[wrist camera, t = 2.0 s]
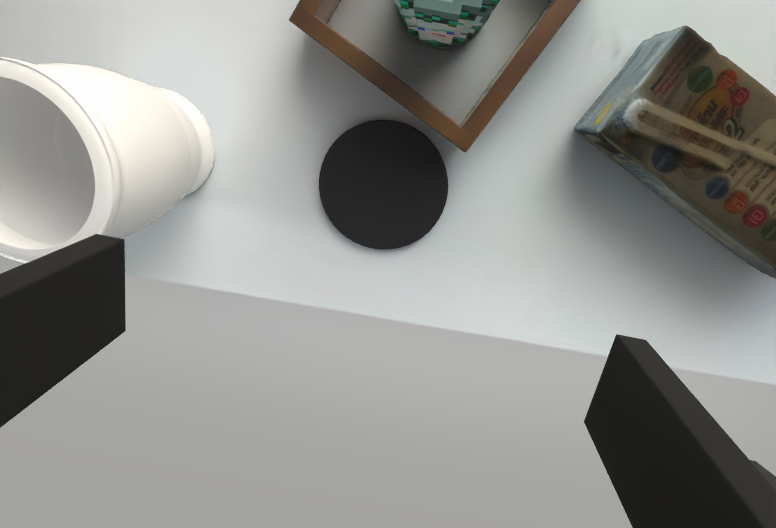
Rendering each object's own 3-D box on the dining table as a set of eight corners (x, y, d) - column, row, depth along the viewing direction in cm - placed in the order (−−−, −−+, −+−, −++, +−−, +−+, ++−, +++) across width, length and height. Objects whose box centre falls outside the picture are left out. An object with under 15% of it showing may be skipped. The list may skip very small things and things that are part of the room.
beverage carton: (646, 30, 34) (696, 13, 27) (846, 191, 36) (935, 210, 30) (567, 129, 36) (597, 134, 30) (760, 274, 38) (824, 308, 32)
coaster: (297, 199, 39) (295, 201, 39) (367, 92, 36) (366, 92, 36) (398, 270, 41) (397, 273, 40) (474, 172, 38) (474, 173, 37)
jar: (254, 136, 38) (149, 156, 24) (186, 234, 41) (56, 303, 27) (140, 42, 37) (-44, 4, 23) (77, 150, 40) (-120, 177, 26)
